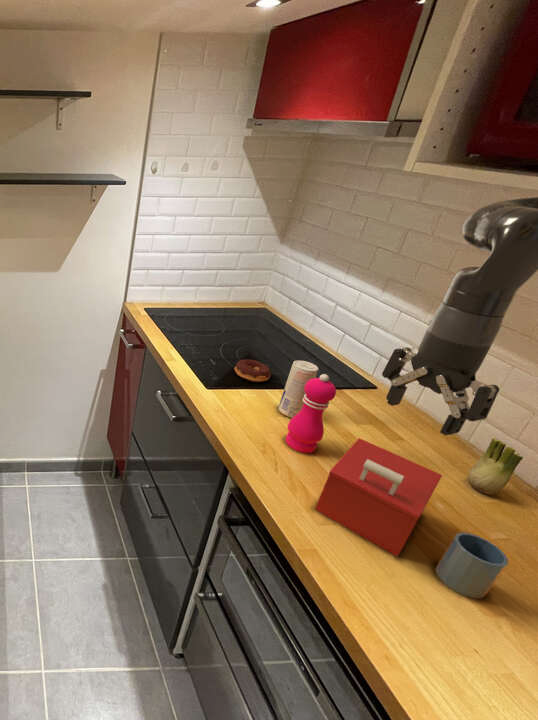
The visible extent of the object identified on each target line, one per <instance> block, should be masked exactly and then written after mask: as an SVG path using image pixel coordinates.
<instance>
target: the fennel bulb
mask: <svg viewBox="0 0 538 720" xmlns="http://www.w3.org/2000/svg"><path fill="white" fill-rule="evenodd" d="M523 459H524V456H523V455H522V454H520V453H519V452H516V449H515V448H514V447H511V446H507V444H506V443H505V442H503V441H502V440H501V439H499V438H496V437H494V438H493V437H492V438H491V441H490V443H489V445H488V447H487V449H486V450H485V452H484V454H482V456H481V457H480V458H479V459H477V461H476V462H475V463H474V464H473V466H472V467H471V468H470V470H469V472H468V476H467V482H468V484H469V485H470V486H471V487H472V488H474V489H475V490H476V491H478V492H480V493H483V494H485V495H488V496H494V495H496V494H497V493H499V492H500V491H502V490H503V489H504V488H505V487H506V486H507V484H508V483H509V481H510V479H511V478H512V476H513V474H514V472H515V471H516V468H517V467H518V465H519V464H520V463H521V461H522V460H523Z"/></svg>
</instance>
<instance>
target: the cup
mask: <svg viewBox="0 0 538 720" xmlns="http://www.w3.org/2000/svg"><path fill="white" fill-rule="evenodd" d="M508 564H509V559H508V556H507V555H506V554H505V552H504V551H503V550H502V549H500V547H498V546H497V545H495V544H494V543H492V542H491V541H490V540H489V539H486V538H484V537H481V536H480V535H476V534H473V533H469V532H458V533H456V534H455V535H454V537H453V538H452V539H451V541H450V543H449V545H448V547H447V548H446V550H444V553H443V554H442V556H441V558H440V559H439V561H438V563H437V565H436V567H435V572H436V574H437V576H438V578H439V579H440V580H441V582H443V583H444V584H445V586H447V587H448V588H450V589H451V590H453V591H454V592H456V593H458V594H460V595H463V596H465V597H468V598H471V599H482V598H484V597H485V596H486V595H487V594H488V593H489V591H490V590H491V588H493V586H494V584H495V583H496V581H497V580H498V578H499V577H500V575H501V574H502V573H503V571H504V570H505V569H506V567H507V566H508Z"/></svg>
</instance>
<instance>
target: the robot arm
mask: <svg viewBox="0 0 538 720" xmlns="http://www.w3.org/2000/svg"><path fill="white" fill-rule="evenodd" d="M461 233H462V238H463V239H464V241H465V242H466V243H468V244H469V245H470V246H471V247H473V248H476V249H478V250H481V251H484V252H487V253H489V255H488V257H487V258H486V259H485V260H484V261H483V263H482V264H481V265H480V266H467V267H464V268H461V269H459V270H458V271H457V272H456V273H455V275H454V276H453V278H452V279H451V281H450V283H449V286H448V287H447V291H446V292H445V295H444V297H443V299H442V301H441V303H440V304H439V306H438V308H437V309H436V310H435V312H434V314H433V316H432V318H431V319H430V321H429V322H428V327H427V329H426V331H425V333H424V335H423V338H422V340H421V341H420V344H419V346H418V348H417V353H414V352H413V351H412V349H411V347H399V348H395V349H394V350H393V351H392V353H391V355H390V357H389V359H388V361H387V363H386V365H385V367H384V369H383V371H382V373H381V375H382V377H383V378H384V379H388V381H390V384H391V386H390V388H389V389H388V392H387V394H386V401H387V402H386V403H387V405H390V406H393V407H394V406H398V405H400V403H402V400H403V398H404V396H405V394H406V391H407V389H408V386H407V385H409V384H411V383H414V382H418V385H419V386H421V387H424V388H427V389H430V390H431V391H432V392H434V393H436V394H438V395H442V398H443V400H444V402H445V404H447V405H448V408H449V412H450V414H448V415H447V417H446V418H445V421H444V423H443V425H442V427H441V429H440V431H439V433H440V434H442V435H444V436H449V435H454V434H458V433H459V432H460V431H461V430H462V428H463V426H464V425H465V423H466V421H467V420H468V421H469V422H471V423H472V422H477V421H482V420H486V419H487V418H488V415H489V413H490V412H491V410H492V407H493V405H494V403H495V401H496V398H497V397H498V394H499V392H500V387H499V386H498V385H497V384H486V383H483V382H481V381H479V380H477V379H476V374H477V372H478V371H479V369H480V368H481V367H482V365H483V362H484V360H485V359H486V357H487V355H488V353H489V351H490V349H491V347H492V346H493V344H494V342H495V340H496V338H497V336H498V334H499V332H500V330H501V327H502V325H503V321H504V318H505V317H506V314H507V312H508V310H509V309H510V307H511V305H512V304H513V301H514V299H515V297H516V295H517V293H518V291H519V290H520V289H521V288H522V287H523V286H524V285H525V284H526V283H527V282H528V281H529V280H530V279H531V278H532V277H534V275H535V274H536V273H537V272H538V196H534V197H523V198H514V199H506V200H501V201H497V202H493V203H490V204H488V205H485V206H483V207H480V208H479V209H477V210H475V211H474V212H472V213H471V214H470V215H469V216H468V217H467V218H466V220H465V221H464V223H463V225H462V228H461ZM407 362H408V363H409V362H410V365H411V367H412V370H411V371H410V372H407V373H404V374H401V372H402V371H403V368H404V366H405V364H406V363H407ZM468 388H471V389H472V396H474V398H473V400H472V401H471V404H469V400H470V398H469V395H468V392H467V390H466V389H468ZM454 393H455V394H454Z"/></svg>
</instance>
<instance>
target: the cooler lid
mask: <svg viewBox="0 0 538 720" xmlns="http://www.w3.org/2000/svg"><path fill="white" fill-rule="evenodd" d="M329 474H330V475H332V476H334V477H336V478H338V479H340V480H342V481H344V482H346V483H348V484H349V485H351V486H353V487H355V488H357V489H359V490H361V491H363V492H365V493H367V494H369V495H371V496H373V497H375V498H377V499H379V500H380V501H382V502H384V503H386V504H388V505H390V506H392V507H394V508H396V509H398V510H400V511H402V512H404V513H406V514H408V515H409V516H411V517H413V518H415V519H417V520H418V521H419V519H420V518H421V515H422V514H423V512H424V510H425V508H426V506H427V505H428V503H429V501H430V499H431V497H432V495H433V493H434V492H435V490H436V488H437V486H438V485H439V482H440V480H441V479H442V477H443V474H442V473H438V472H436V471H434V470H432V469H430V468H427V467H425V466H424V465H421V464H419V463H416V462H414V461H412V460H409V459H407V458H405V457H402V456H400V455H398V454H397V453H394V452H391V451H389V450H387V449H384V448H382V447H381V446H378V445H376V444H374V443H372V442H369V441H367V440H364V439H363V438H360V437H359V438H358V439H357V440H356V441H355V442H354V443H353V444H352V446H351V447H349V448H348V450H347V451H346V452H345V453H344V454H343V455H342V456H341V457H340V459H339V460H338V461H337V462H336V464H334V465H333V467H332V468H331V469H330V470H329V471H328V475H329Z"/></svg>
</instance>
